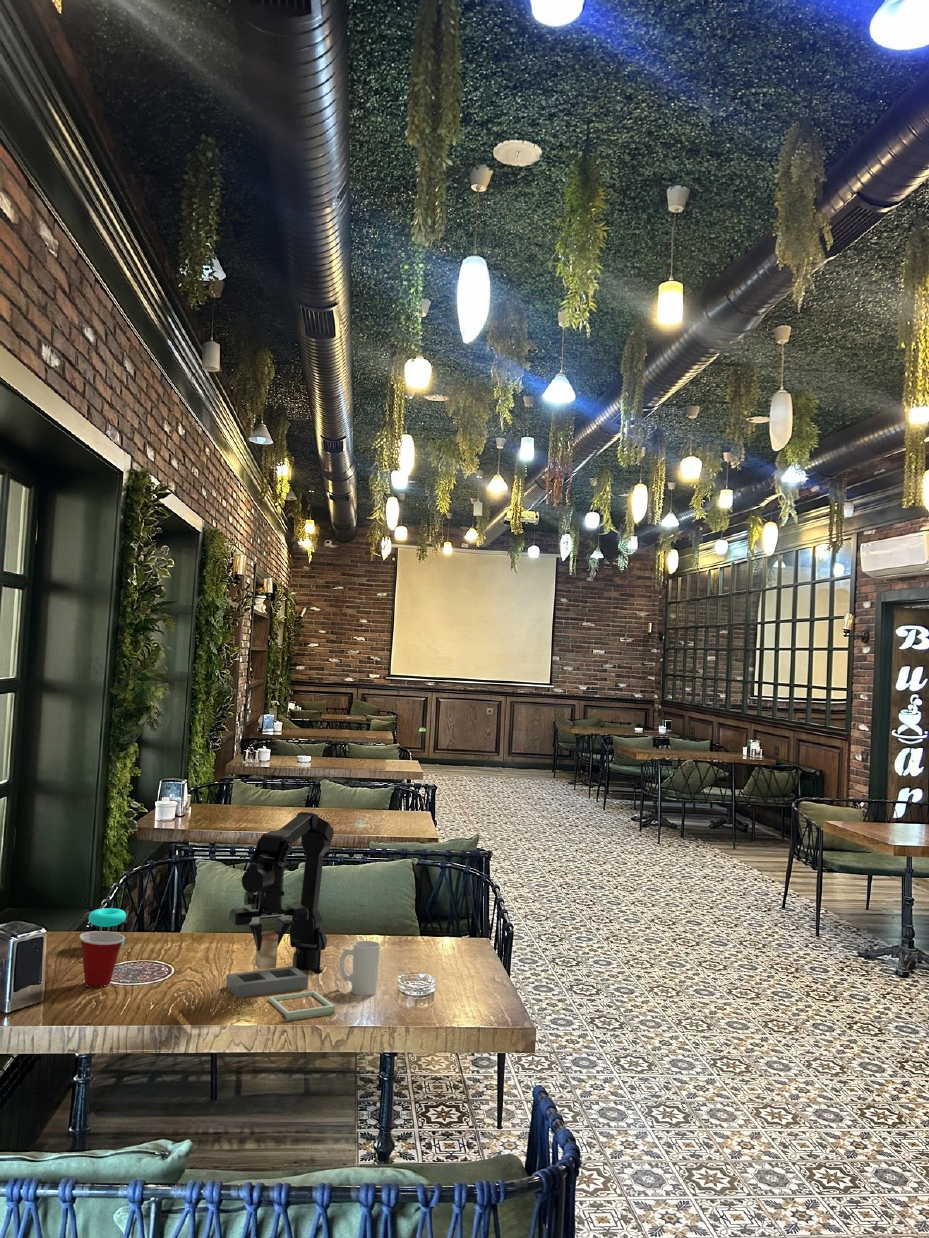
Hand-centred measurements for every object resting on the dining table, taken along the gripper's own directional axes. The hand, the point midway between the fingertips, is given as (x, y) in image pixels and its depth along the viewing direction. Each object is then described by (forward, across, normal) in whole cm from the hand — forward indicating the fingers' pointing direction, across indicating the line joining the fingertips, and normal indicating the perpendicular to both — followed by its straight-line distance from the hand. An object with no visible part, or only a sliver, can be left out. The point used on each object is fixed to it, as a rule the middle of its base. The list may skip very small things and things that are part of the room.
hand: (266, 949), depth 231 cm
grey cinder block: (+12, -2, -4) cm, 13 cm away
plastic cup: (+12, +34, -24) cm, 44 cm away
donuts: (+12, +27, -56) cm, 64 cm away
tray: (+12, -6, +11) cm, 17 cm away
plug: (+4, 0, 0) cm, 4 cm away
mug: (+12, -24, +4) cm, 27 cm away
